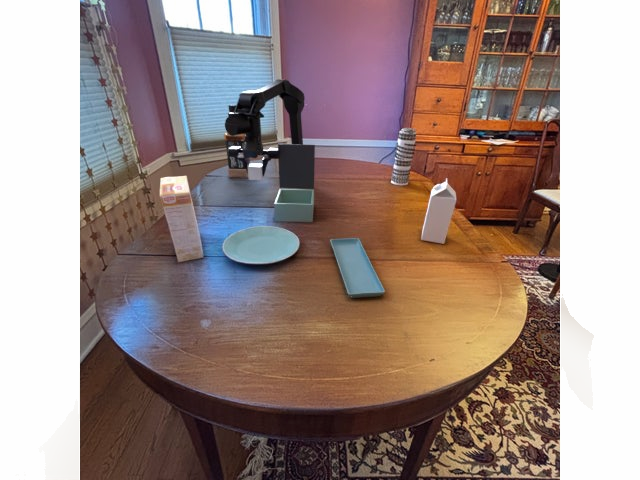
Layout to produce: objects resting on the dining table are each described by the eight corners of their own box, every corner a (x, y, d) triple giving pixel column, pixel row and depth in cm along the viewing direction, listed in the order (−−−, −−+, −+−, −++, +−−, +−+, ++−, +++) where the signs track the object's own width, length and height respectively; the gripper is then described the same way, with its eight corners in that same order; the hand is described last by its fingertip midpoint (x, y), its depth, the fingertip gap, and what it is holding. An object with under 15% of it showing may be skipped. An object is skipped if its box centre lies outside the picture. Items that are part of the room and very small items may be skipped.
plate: (312, 242, 93) (312, 234, 92) (274, 280, 76) (273, 271, 74) (253, 228, 101) (253, 220, 99) (207, 259, 84) (205, 250, 82)
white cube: (251, 176, 116) (250, 163, 114) (264, 176, 116) (263, 163, 114) (248, 180, 112) (247, 166, 110) (261, 180, 112) (261, 167, 110)
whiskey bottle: (248, 178, 148) (240, 106, 131) (228, 177, 148) (218, 105, 131) (252, 172, 156) (245, 104, 140) (233, 171, 156) (224, 103, 140)
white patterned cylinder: (411, 182, 149) (421, 128, 136) (405, 186, 142) (415, 131, 129) (394, 178, 153) (402, 126, 140) (387, 183, 146) (395, 128, 133)
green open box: (312, 222, 106) (312, 204, 103) (275, 221, 106) (274, 203, 102) (313, 205, 119) (314, 189, 116) (280, 204, 119) (279, 188, 116)
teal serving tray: (384, 298, 71) (386, 290, 70) (347, 301, 70) (348, 293, 68) (358, 244, 93) (358, 237, 92) (329, 246, 92) (329, 239, 90)
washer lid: (314, 145, 108) (314, 144, 109) (277, 144, 108) (278, 143, 108) (314, 188, 115) (314, 188, 116) (279, 187, 115) (279, 187, 116)
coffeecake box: (176, 238, 93) (159, 177, 83) (200, 235, 96) (187, 175, 85) (177, 263, 82) (158, 195, 71) (204, 258, 84) (190, 191, 74)
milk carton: (443, 234, 100) (459, 179, 90) (444, 244, 94) (460, 186, 84) (422, 231, 102) (434, 176, 92) (421, 240, 96) (434, 183, 86)
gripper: (219, 135, 99) (226, 181, 107) (275, 137, 99) (277, 183, 107) (229, 129, 108) (234, 172, 116) (280, 131, 108) (281, 174, 116)
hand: (256, 175), depth 114 cm, fingers closed on white cube, 5 cm apart
